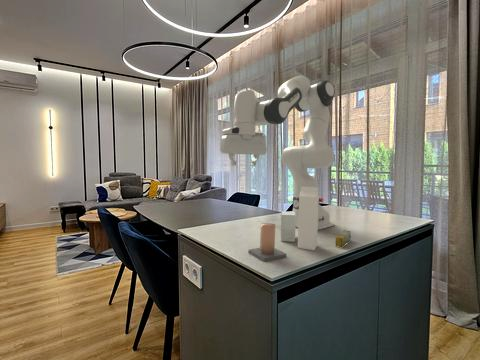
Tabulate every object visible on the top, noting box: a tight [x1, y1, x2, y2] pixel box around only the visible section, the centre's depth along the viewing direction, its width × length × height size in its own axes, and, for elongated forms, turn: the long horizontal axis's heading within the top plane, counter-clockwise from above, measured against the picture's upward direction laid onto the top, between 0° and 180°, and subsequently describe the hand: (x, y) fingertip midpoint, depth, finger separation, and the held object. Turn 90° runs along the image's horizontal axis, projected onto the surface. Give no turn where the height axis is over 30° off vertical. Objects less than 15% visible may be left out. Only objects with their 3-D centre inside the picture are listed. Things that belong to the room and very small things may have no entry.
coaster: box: [247, 247, 287, 262], centre depth 87 cm, size 9×9×1 cm
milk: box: [297, 187, 320, 251], centre depth 95 cm, size 6×6×22 cm
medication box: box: [335, 230, 352, 248], centre depth 100 cm, size 12×3×4 cm, turn 144°
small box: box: [280, 210, 296, 243], centre depth 105 cm, size 8×6×10 cm
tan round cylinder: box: [259, 222, 276, 254], centre depth 87 cm, size 5×5×9 cm
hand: (243, 165), depth 107 cm, fingers open, 8 cm apart
